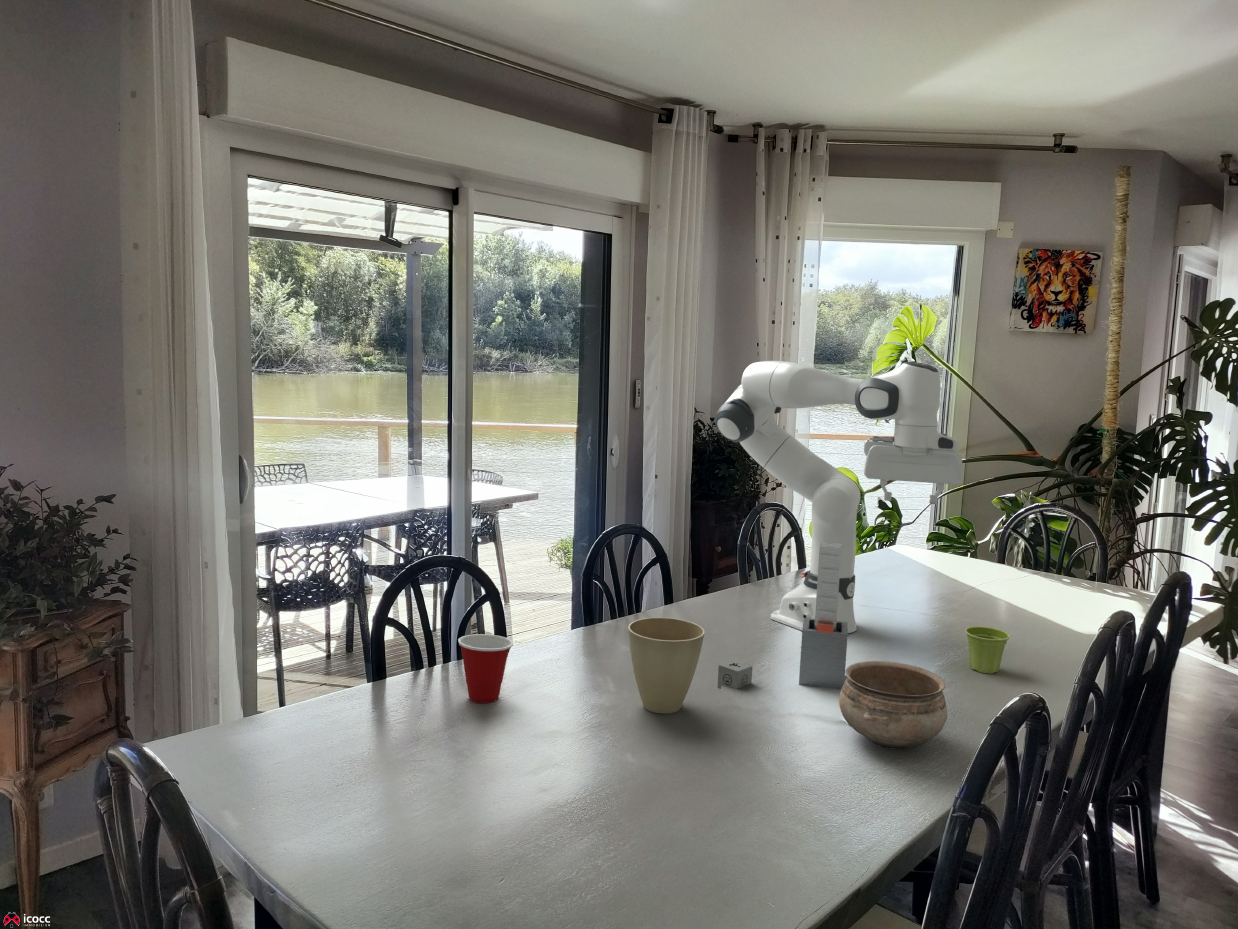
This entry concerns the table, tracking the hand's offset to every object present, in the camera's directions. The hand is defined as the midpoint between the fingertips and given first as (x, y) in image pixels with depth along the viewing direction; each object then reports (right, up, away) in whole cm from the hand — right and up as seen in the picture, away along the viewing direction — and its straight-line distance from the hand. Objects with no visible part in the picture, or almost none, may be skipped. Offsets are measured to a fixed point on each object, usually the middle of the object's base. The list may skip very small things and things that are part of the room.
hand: (910, 502), depth 195 cm
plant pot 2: (+21, -39, +11) cm, 45 cm away
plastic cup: (-90, -38, -16) cm, 99 cm away
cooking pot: (-13, -43, -30) cm, 54 cm away
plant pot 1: (-54, -40, -17) cm, 70 cm away
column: (-19, -29, -4) cm, 35 cm away
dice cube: (-39, -39, -6) cm, 55 cm away
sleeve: (-20, -39, -2) cm, 44 cm away
